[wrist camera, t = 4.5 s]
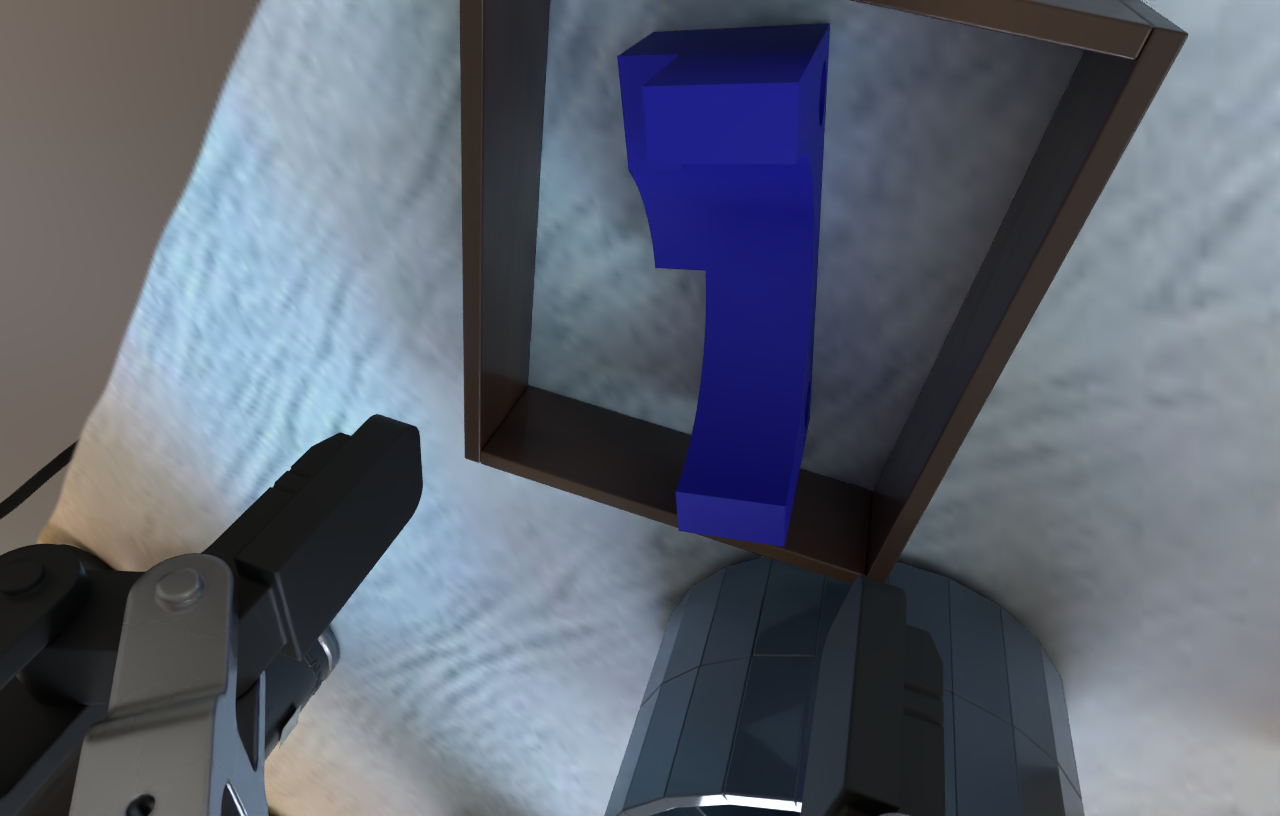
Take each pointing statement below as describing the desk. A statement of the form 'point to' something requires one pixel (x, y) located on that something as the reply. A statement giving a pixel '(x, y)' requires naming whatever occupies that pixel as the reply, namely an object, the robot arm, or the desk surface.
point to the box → (966, 366)
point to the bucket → (786, 694)
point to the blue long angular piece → (737, 248)
